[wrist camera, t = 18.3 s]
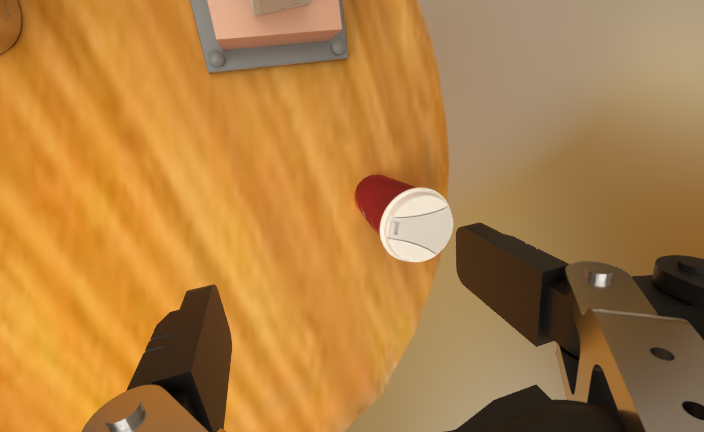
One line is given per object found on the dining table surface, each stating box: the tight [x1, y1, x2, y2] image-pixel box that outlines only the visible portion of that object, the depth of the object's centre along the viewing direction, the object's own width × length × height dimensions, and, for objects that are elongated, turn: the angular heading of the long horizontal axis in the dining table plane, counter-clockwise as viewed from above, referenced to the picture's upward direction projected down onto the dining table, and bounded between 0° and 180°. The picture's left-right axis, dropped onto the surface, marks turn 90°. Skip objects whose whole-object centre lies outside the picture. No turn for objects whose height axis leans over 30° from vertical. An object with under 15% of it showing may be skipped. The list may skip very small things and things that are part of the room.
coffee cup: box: [355, 175, 453, 262], centre depth 40 cm, size 8×8×15 cm
